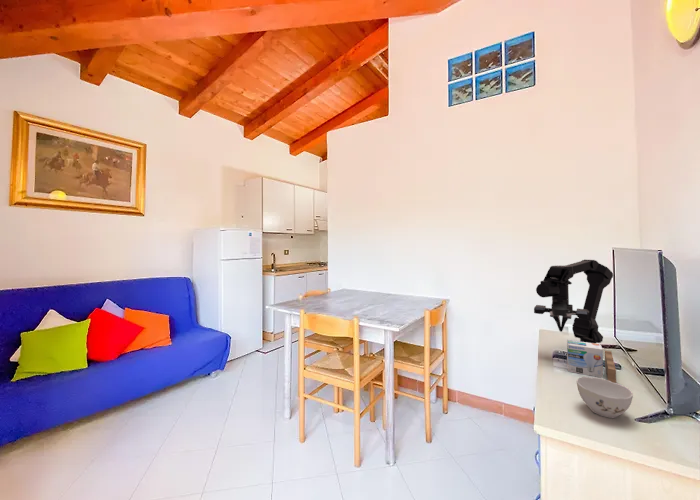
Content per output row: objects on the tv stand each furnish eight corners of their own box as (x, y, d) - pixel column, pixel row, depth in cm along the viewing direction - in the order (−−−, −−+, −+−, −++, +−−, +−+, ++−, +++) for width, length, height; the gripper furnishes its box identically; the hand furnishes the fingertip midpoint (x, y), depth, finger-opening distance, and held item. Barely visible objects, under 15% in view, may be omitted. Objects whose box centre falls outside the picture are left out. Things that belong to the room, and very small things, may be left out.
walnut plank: (605, 365, 115) (604, 350, 115) (611, 366, 114) (611, 351, 114) (608, 385, 100) (608, 368, 100) (616, 387, 99) (615, 369, 99)
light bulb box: (567, 371, 111) (567, 344, 111) (567, 365, 117) (566, 339, 117) (604, 378, 105) (603, 349, 105) (601, 371, 111) (601, 343, 110)
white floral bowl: (636, 431, 76) (636, 402, 76) (577, 415, 84) (576, 388, 84) (628, 405, 88) (628, 379, 88) (576, 393, 96) (576, 369, 96)
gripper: (531, 296, 122) (532, 332, 122) (588, 300, 110) (589, 340, 110) (535, 292, 131) (536, 326, 131) (588, 295, 119) (589, 333, 119)
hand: (561, 331), depth 123 cm, fingers closed
